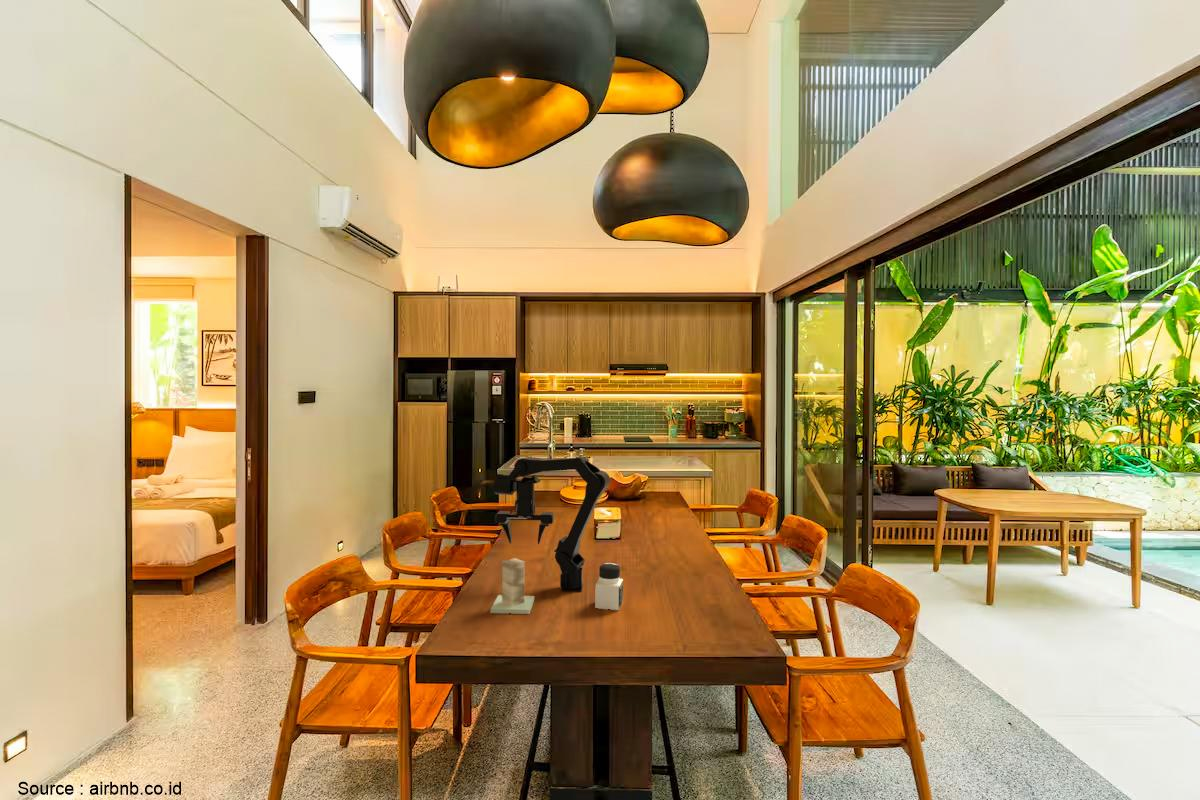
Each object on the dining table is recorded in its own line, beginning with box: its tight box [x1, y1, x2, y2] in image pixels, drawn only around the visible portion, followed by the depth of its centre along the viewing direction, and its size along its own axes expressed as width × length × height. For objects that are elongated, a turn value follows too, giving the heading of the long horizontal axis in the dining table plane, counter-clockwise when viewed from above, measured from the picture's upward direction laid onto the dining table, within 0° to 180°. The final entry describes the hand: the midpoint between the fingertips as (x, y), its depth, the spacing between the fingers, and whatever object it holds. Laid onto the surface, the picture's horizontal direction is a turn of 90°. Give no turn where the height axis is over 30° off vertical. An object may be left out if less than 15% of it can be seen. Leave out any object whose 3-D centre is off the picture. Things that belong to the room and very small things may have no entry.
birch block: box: [501, 557, 526, 606], centre depth 169 cm, size 5×5×12 cm
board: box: [489, 594, 536, 615], centre depth 169 cm, size 11×11×1 cm
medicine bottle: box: [594, 562, 624, 611], centre depth 170 cm, size 7×7×12 cm
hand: (524, 543), depth 189 cm, fingers open, 9 cm apart
